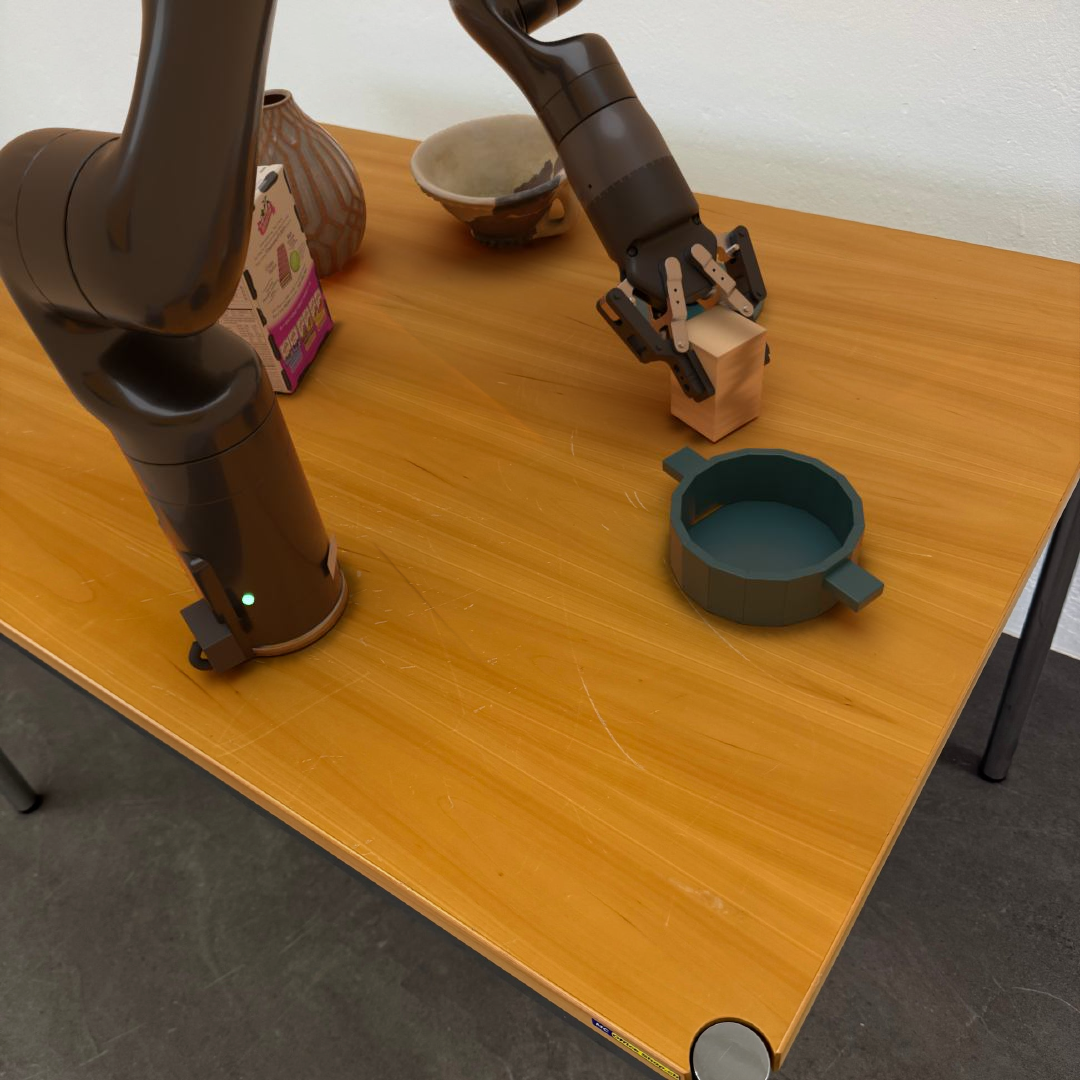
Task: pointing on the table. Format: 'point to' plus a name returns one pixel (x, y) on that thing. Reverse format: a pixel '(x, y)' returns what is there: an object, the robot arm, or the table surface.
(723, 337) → the block
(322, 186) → the vase
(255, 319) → the candy bar box
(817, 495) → the pot
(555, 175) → the bowl
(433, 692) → the table surface
